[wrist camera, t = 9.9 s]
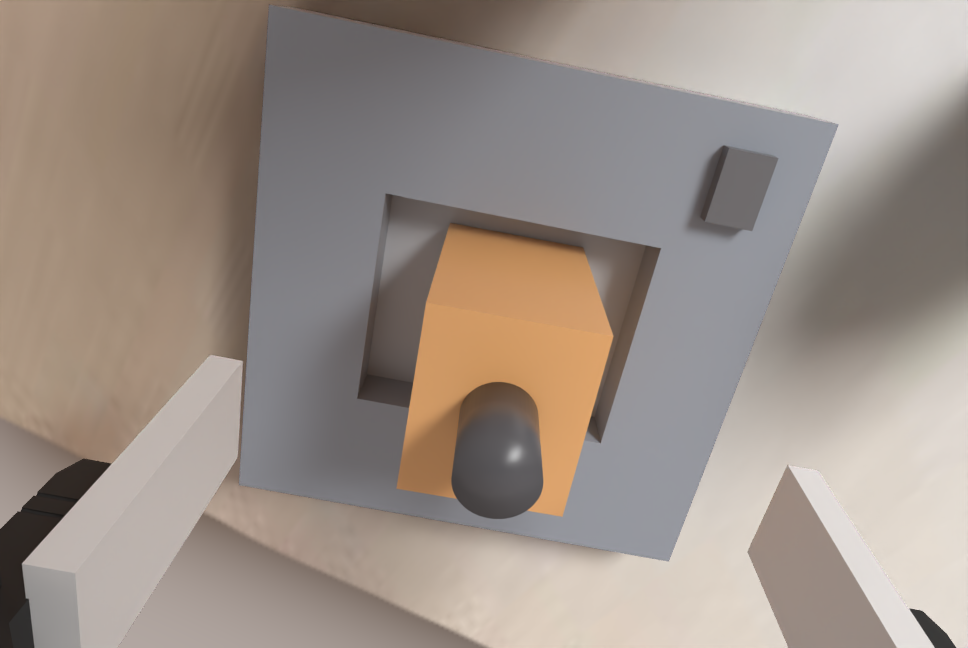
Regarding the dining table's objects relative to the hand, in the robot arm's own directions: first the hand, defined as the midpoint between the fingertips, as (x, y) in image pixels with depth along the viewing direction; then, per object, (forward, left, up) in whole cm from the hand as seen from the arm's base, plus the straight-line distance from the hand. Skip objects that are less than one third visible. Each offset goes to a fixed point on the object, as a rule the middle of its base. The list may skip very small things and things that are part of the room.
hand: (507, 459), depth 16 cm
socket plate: (0, 0, -11) cm, 11 cm away
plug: (0, 0, -11) cm, 11 cm away
